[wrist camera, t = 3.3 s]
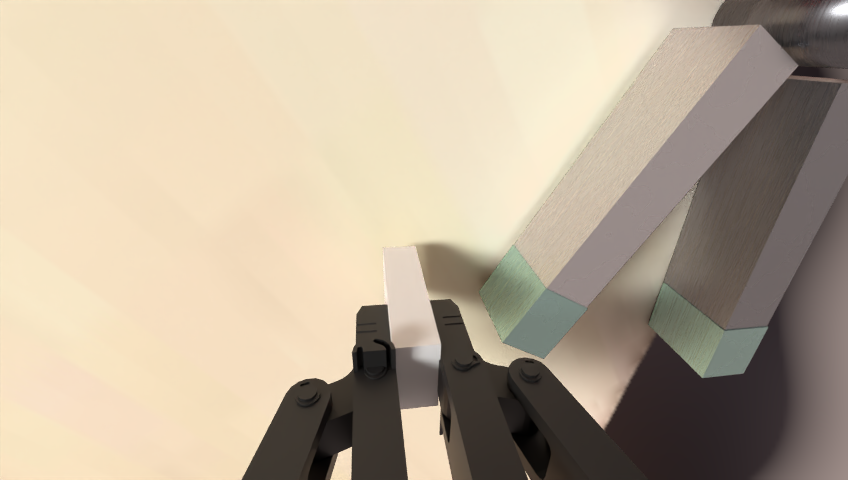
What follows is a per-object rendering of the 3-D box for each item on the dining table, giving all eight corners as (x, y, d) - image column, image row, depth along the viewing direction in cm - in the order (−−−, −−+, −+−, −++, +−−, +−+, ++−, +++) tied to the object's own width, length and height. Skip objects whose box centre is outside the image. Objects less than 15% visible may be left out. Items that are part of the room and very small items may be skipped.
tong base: (725, -18, 16) (884, -45, 11) (819, -14, 16) (1008, -38, 12) (617, 326, 24) (682, 398, 19) (683, 321, 25) (761, 388, 20)
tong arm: (672, 27, 16) (760, 23, 12) (708, 61, 17) (800, 66, 13) (478, 291, 21) (502, 342, 17) (514, 306, 22) (543, 358, 18)
